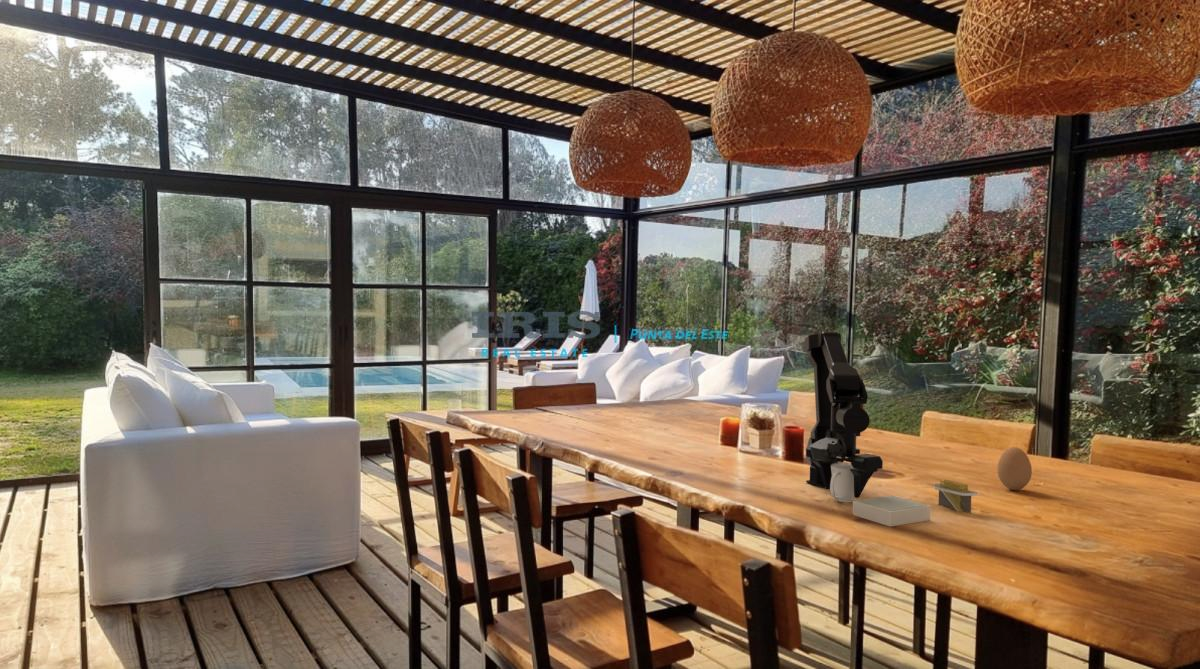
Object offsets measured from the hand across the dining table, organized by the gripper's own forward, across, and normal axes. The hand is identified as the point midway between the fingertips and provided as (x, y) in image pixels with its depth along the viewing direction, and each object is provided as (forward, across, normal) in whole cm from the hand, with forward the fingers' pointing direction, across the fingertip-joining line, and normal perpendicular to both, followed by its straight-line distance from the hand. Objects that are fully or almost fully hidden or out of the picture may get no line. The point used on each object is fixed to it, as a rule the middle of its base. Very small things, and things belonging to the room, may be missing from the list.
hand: (841, 493), depth 172 cm
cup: (+2, 0, 0) cm, 2 cm away
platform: (+2, +16, +18) cm, 24 cm away
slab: (+2, +15, -1) cm, 15 cm away
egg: (+2, +9, +50) cm, 51 cm away
